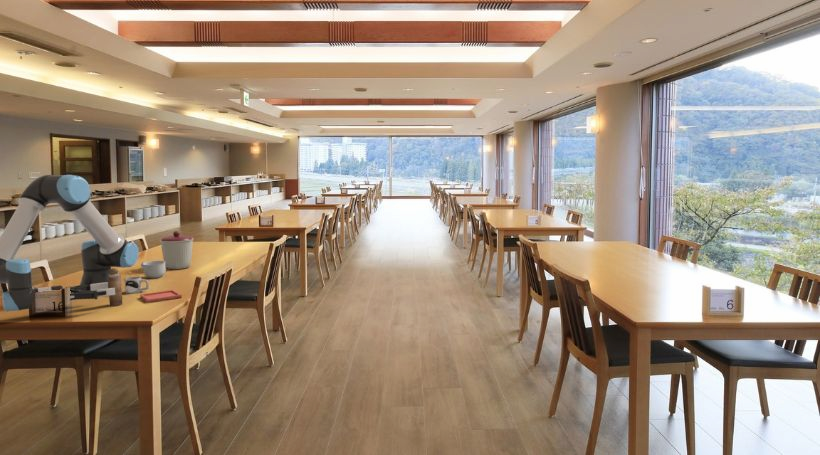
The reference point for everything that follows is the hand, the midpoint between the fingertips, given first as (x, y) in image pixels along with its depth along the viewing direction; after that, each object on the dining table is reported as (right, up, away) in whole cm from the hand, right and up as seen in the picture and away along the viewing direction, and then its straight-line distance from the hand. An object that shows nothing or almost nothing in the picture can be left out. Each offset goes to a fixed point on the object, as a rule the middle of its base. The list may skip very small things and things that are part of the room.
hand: (111, 288), depth 231 cm
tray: (+15, -6, +14) cm, 21 cm away
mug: (-1, -5, +25) cm, 25 cm away
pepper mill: (+1, -7, +2) cm, 8 cm away
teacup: (-10, -1, +58) cm, 59 cm away
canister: (-7, +2, +83) cm, 83 cm away
